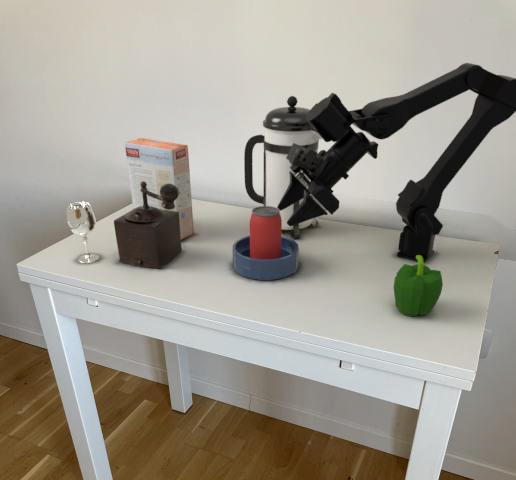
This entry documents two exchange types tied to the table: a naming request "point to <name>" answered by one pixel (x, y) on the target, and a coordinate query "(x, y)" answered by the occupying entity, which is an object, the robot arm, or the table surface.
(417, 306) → the bell pepper
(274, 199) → the coffee press
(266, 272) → the bowl
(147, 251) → the manual coffee grinder
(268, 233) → the beer can
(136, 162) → the cracker box
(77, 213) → the wineglass
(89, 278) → the table surface
